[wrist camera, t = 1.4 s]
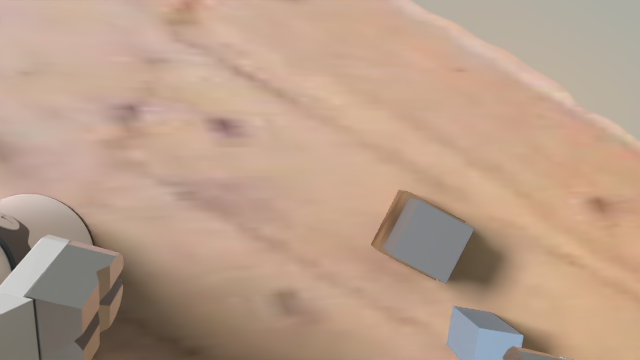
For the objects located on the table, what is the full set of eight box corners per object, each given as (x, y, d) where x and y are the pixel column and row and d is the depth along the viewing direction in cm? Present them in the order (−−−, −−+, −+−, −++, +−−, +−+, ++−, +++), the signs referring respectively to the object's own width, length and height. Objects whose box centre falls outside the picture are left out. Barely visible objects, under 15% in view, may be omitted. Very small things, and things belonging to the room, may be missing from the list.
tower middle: (432, 274, 57) (445, 283, 52) (382, 248, 57) (391, 255, 52) (458, 224, 57) (474, 228, 52) (409, 197, 57) (420, 200, 52)
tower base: (424, 271, 62) (435, 280, 57) (370, 244, 62) (377, 250, 57) (452, 217, 62) (465, 221, 57) (398, 190, 62) (407, 191, 57)
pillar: (484, 350, 62) (515, 380, 53) (446, 344, 62) (471, 373, 53) (490, 312, 62) (523, 335, 53) (453, 306, 62) (479, 328, 53)
